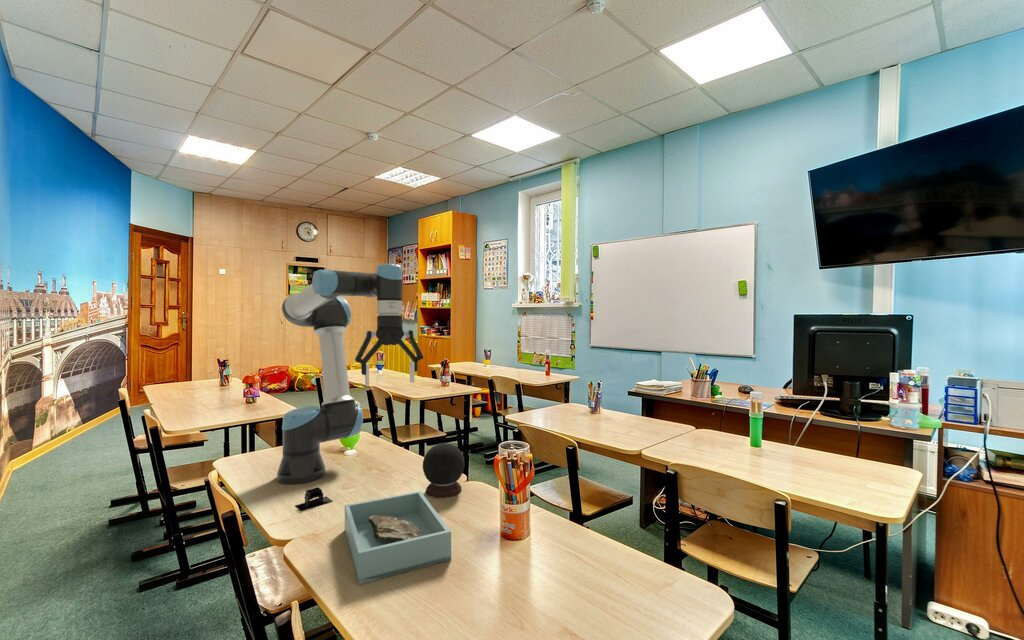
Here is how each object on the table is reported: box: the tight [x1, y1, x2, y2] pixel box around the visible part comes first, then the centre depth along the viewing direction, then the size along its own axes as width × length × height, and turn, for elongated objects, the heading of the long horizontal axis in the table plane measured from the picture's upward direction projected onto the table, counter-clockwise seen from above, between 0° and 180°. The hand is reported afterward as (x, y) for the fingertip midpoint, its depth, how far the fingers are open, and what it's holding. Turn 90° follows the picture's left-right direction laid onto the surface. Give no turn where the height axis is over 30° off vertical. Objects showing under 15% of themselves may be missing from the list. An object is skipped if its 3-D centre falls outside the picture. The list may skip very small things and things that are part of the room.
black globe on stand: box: [422, 442, 466, 499], centre depth 139 cm, size 13×13×15 cm
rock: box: [368, 515, 424, 544], centre depth 108 cm, size 18×11×4 cm, turn 70°
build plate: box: [294, 486, 334, 512], centre depth 130 cm, size 12×7×5 cm, turn 135°
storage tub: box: [344, 490, 452, 585], centre depth 107 cm, size 26×20×6 cm
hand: (390, 384), depth 134 cm, fingers open, 13 cm apart
